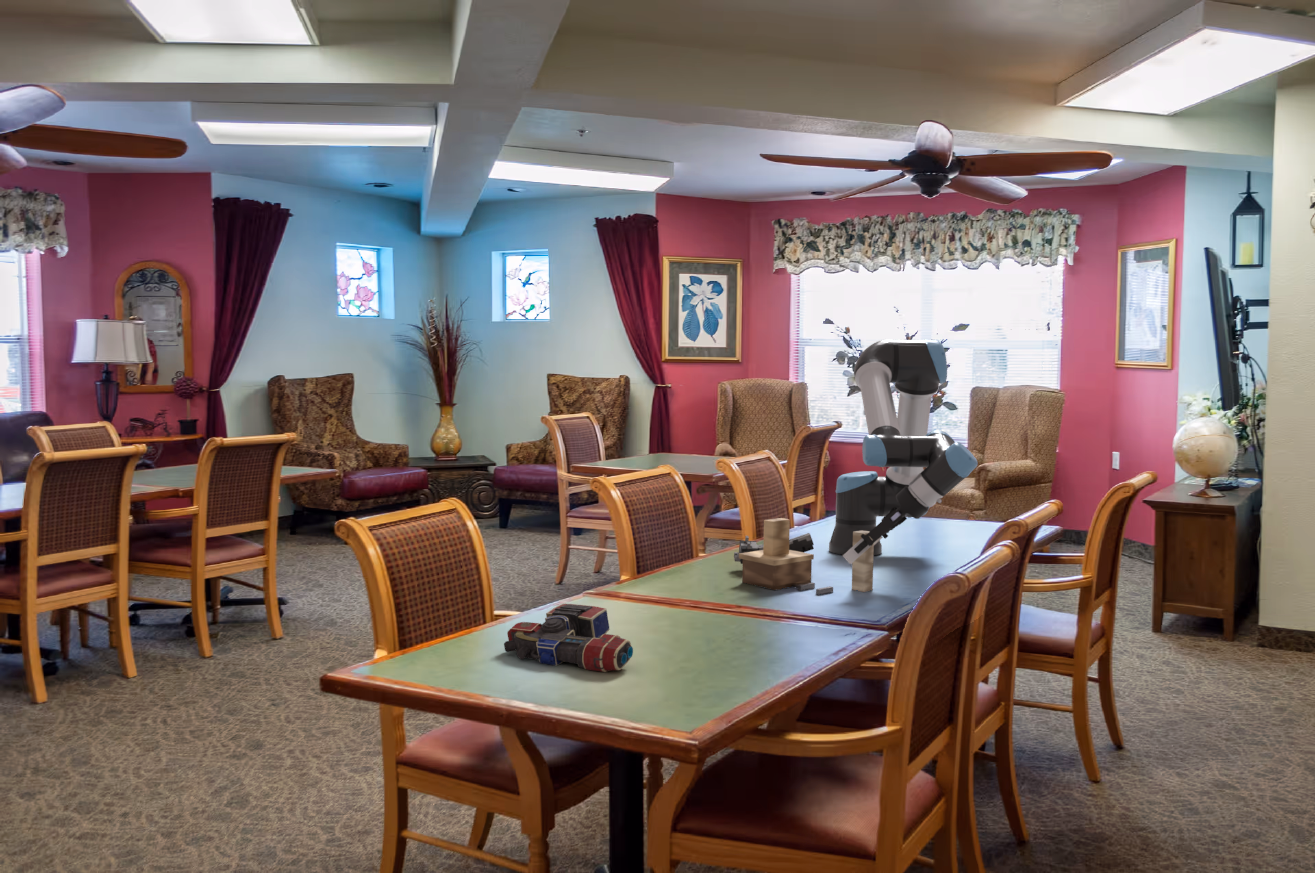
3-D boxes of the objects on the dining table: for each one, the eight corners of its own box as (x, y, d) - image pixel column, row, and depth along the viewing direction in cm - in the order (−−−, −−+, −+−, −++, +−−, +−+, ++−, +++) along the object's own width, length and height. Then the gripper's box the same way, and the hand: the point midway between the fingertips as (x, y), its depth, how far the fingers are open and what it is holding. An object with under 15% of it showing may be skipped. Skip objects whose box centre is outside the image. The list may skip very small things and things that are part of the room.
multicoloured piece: (613, 651, 166) (662, 600, 183) (489, 637, 177) (547, 589, 194) (619, 693, 168) (668, 638, 185) (496, 676, 179) (553, 626, 196)
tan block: (860, 587, 240) (861, 530, 239) (872, 590, 237) (873, 532, 237) (851, 589, 238) (853, 531, 237) (863, 592, 235) (864, 533, 234)
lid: (777, 552, 253) (778, 514, 253) (813, 559, 244) (814, 520, 243) (738, 558, 244) (739, 519, 244) (774, 565, 235) (775, 525, 234)
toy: (814, 574, 256) (815, 535, 255) (734, 573, 256) (735, 534, 256) (810, 568, 263) (811, 531, 262) (733, 567, 263) (733, 530, 263)
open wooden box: (778, 576, 253) (778, 552, 252) (811, 583, 244) (811, 559, 244) (742, 582, 244) (742, 558, 244) (775, 590, 236) (775, 565, 236)
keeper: (801, 585, 242) (801, 580, 242) (833, 592, 235) (833, 587, 235) (787, 587, 239) (787, 582, 239) (819, 594, 231) (819, 589, 231)
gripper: (921, 515, 219) (852, 576, 226) (937, 502, 241) (874, 558, 248) (897, 490, 220) (829, 551, 227) (916, 479, 243) (854, 535, 250)
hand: (853, 555), depth 238 cm, fingers open, 13 cm apart
